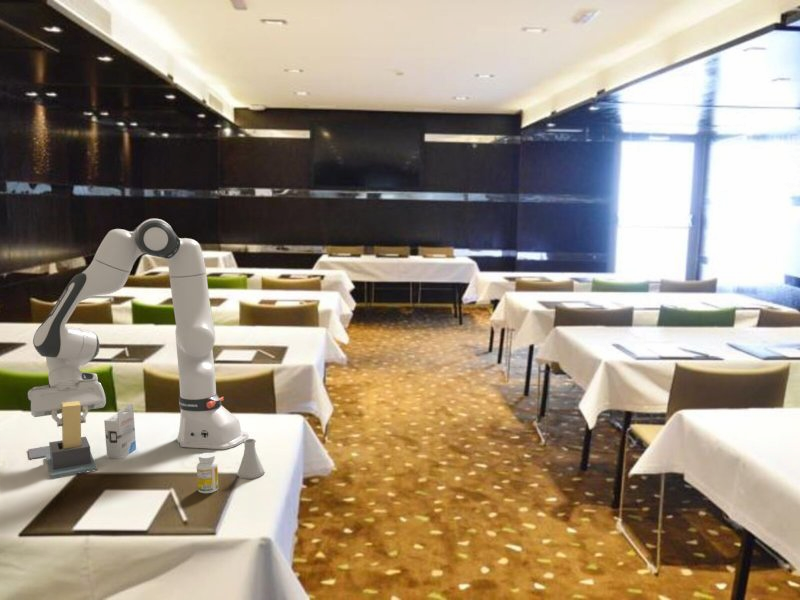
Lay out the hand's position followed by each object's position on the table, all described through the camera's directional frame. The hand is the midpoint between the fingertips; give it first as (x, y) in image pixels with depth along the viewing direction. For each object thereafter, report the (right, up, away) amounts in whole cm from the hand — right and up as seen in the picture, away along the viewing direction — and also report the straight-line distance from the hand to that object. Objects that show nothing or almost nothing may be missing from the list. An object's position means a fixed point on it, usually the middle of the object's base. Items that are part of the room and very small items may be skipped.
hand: (71, 423), depth 218 cm
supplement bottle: (+44, -15, -17) cm, 49 cm away
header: (-1, -12, +2) cm, 12 cm away
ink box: (+11, -11, +10) cm, 18 cm away
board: (-1, -12, +2) cm, 12 cm away
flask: (+53, -13, -7) cm, 55 cm away
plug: (-1, -8, +2) cm, 8 cm away
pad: (-13, -11, +12) cm, 21 cm away
